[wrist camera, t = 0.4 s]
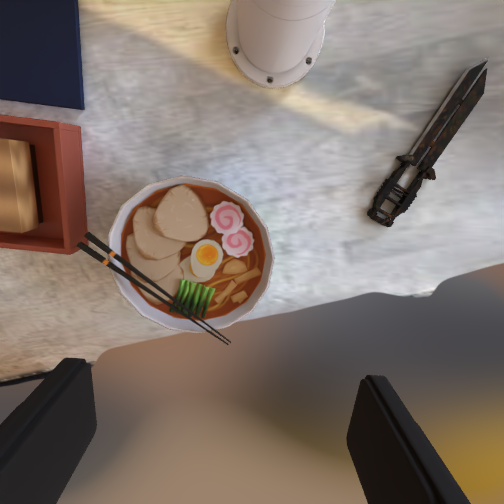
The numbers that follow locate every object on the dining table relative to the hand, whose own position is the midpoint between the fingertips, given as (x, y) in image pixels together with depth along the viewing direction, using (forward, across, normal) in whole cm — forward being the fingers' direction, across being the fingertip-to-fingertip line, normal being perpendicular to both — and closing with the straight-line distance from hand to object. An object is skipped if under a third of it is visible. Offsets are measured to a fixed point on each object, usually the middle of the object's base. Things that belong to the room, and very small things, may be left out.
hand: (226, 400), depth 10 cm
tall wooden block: (+35, +32, -2) cm, 48 cm away
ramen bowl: (+36, +6, +6) cm, 37 cm away
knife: (+36, -26, -12) cm, 46 cm away
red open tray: (+36, +32, -2) cm, 48 cm away
